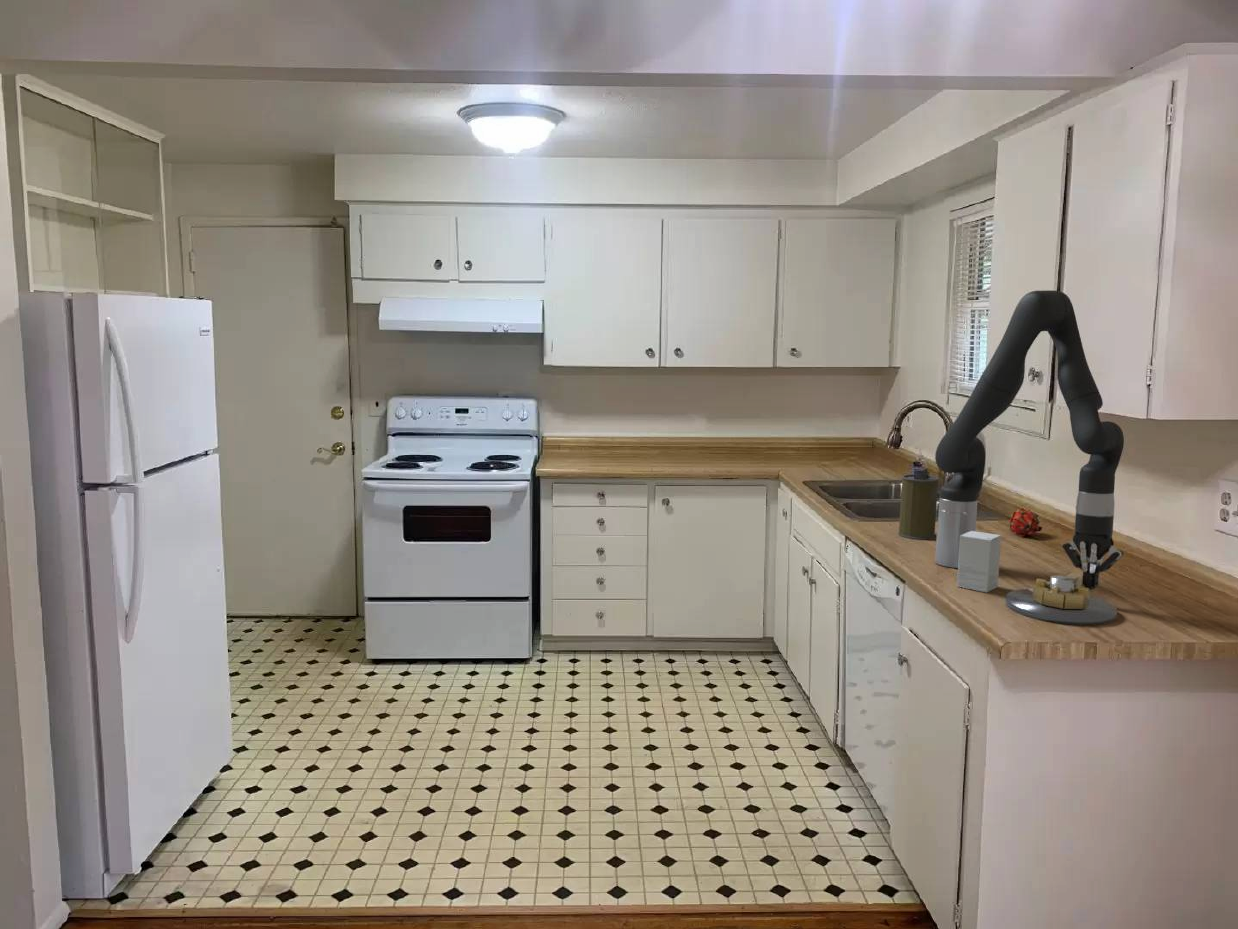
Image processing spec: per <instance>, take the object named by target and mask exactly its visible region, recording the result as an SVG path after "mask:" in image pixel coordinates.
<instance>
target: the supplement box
mask: <svg viewBox="0 0 1238 929" xmlns="http://www.w3.org/2000/svg"><path fill="white" fill-rule="evenodd" d="M1001 541H1002V535H1001V534H994V533H990V532H988V533H987V532H982V531H977V530H975V531H970V532H967V533H965V534H963V535H960V546H959V562H958V568H957V583H956V587H957V586H958V587H957V588H961V587H962V588H961V589H967V590H971V589H972V591H977V592H982V593H989V592H991V591H993V590H994V589H996V588H998V587H999V574H1000V572H999V571H1000V557H1001V543H1002V542H1001Z"/></svg>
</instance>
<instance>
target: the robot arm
mask: <svg viewBox="0 0 1238 929" xmlns="http://www.w3.org/2000/svg"><path fill="white" fill-rule="evenodd" d="M1076 317H1077V316H1076V313H1075V310H1074V305H1073V303H1072V300H1071V299H1070V297H1069V296H1068V295H1067V294H1066V293H1064V292H1063V291H1060V290H1033V291H1030V292H1028V293H1025V294H1024V295H1023V297H1021V299H1020V300H1019V301H1018V303H1017V305H1016V306H1015V308H1014V311H1013V313H1012V316H1011V318H1010V320H1009V323H1008V325H1007V327H1006V330H1005V332H1004V334H1003V336H1002V339H1001V340H1000V342H999V344H998V346H997V348H996V349H995V351H994V353H993V356H992V357H991V359H990V361H989V362H988V364H987V366H986V367H985V368H984V371H983V372H982V373H981V376H980V378H979V379H978V380H977V383H976V385H975V386H974V388H973V391H972V392H971V394H970V396H969V397H968V398H967V401H966V403H964V405H963V407H962V409H961V411H960V413H959V414H958V416H957V417H956V419H955V420H954V422H953V423H952V425H951V426H950V427H949V428H948V430H947V431H946V433H945V434H944V435H943V437H941V439H940V441H939V443H938V445H937V447H936V450H935V456H934V457H935V464H936V466H937V468H938V469H939V471H942V472H943V473H948V474H953V476H952V478H950V480H949V481H948V482H946V483H945V484H943V485H942V486H941V487H940V488H939V498H938V499H939V500H938V501H939V503H938V513H937V514H938V517H937V527H936V528H937V529H936V538H935V539H936V541H935V553H934V555H935V556H934V560H935V561H934V562H935V564H937V565H939V566H942V567H949V568H953V569H954V568H955V569H958V562H959V546H960V535H963V534H965V533H967V532H970V531H976V530H977V529H976V528H977V513H978V501H979V500H978V499H979V494H980V492H981V491H982V487H983V482H984V474H985V468H986V449H985V446H984V443H983V442H982V440H981V439H980V438H978V436H979V434H980V433H981V432H982V431H983V430H984V429H986V427H988V426H989V425H990V424H991V423H992V422H994V421H995V420H997V418H999V417H1000V416H1001V415H1003V413H1004V412H1006V410H1007V409H1008V408H1009V407H1010V406H1011V404H1012V403H1013V401H1014V400H1015V398H1016V396H1017V394H1018V393H1019V392H1020V390H1021V388H1022V386H1023V384H1024V380H1025V374H1026V373H1025V372H1026V371H1025V370H1026V358H1027V354H1028V352H1029V350H1030V348H1031V346H1032V345H1033V343H1034V342H1035V340H1036V338H1038V336H1039V335H1040V334H1041V333H1042V332H1047V333H1048V335H1049V336H1050V339H1051V340H1052V342H1053V344H1054V346H1055V349H1056V355H1057V369H1056V370H1057V373H1056V374H1057V382H1058V387H1059V390H1060V392H1061V394H1062V397H1063V399H1064V402H1065V404H1066V407H1067V408H1068V410H1069V420H1070V425H1071V426H1070V427H1071V433H1072V438H1073V440H1074V442H1075V444H1076V446H1077V448H1079V450H1080V451H1081V452H1083V453H1084V454H1086V455H1090V456H1089V460H1088V462H1087V463H1086V464H1084V465H1083V466H1081V468H1080V470H1079V476H1078V477H1079V478H1078V491H1077V493H1078V494H1077V498H1076V503H1075V504H1076V505H1075V520H1074V521H1075V523H1074V532H1075V533H1074V535H1073V536H1072V540H1070V541H1068V542H1066V543H1064V544H1062V548H1063V550H1064V551H1065V552H1064V553H1066V555H1067V556H1068V558H1069V560H1070V561H1071V563H1072V564H1073V566H1074V567H1075V568H1079V569H1080V570H1082V585H1083V586H1084V587H1087V588H1089V590H1090V591H1092V590H1095V589H1096V587H1098V585H1099V579H1100V578H1099V577H1100V573H1104V572H1106V571H1109V569H1111V568H1112V567H1113V565H1115V564H1116V563H1118V561H1119V560H1120V559H1121V558H1122V557H1123V556H1124V551H1122V550H1118V549H1117V548H1116V547H1115V545H1114V544H1115V542H1114V540H1113V534H1114V533H1113V531H1114V530H1113V529H1114V519H1115V504H1116V503H1115V483H1116V482H1115V480H1116V473H1117V469H1118V467H1119V464H1120V460H1121V457H1122V453H1123V450H1124V446H1125V445H1124V444H1125V437H1124V432H1123V429H1121V427H1120V425H1118V424H1117V423H1115V422H1114V421H1108V420H1107V421H1101V418H1100V414H1099V410H1100V409H1101V408H1102V407H1103V406H1104V404H1103V403H1104V402H1103V399H1102V398H1103V397H1102V395H1101V393H1100V391H1099V388H1098V386H1097V384H1096V380H1095V378H1094V377H1093V374H1092V372H1091V369H1090V367H1089V364H1088V360H1087V358H1086V355H1085V350H1084V347H1083V342H1082V339H1081V334H1080V330H1079V327H1078V322H1077V318H1076ZM1107 553H1108V558H1107V559H1105V560H1104V561H1103V559H1104V557H1105V556H1106V555H1107Z"/></svg>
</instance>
